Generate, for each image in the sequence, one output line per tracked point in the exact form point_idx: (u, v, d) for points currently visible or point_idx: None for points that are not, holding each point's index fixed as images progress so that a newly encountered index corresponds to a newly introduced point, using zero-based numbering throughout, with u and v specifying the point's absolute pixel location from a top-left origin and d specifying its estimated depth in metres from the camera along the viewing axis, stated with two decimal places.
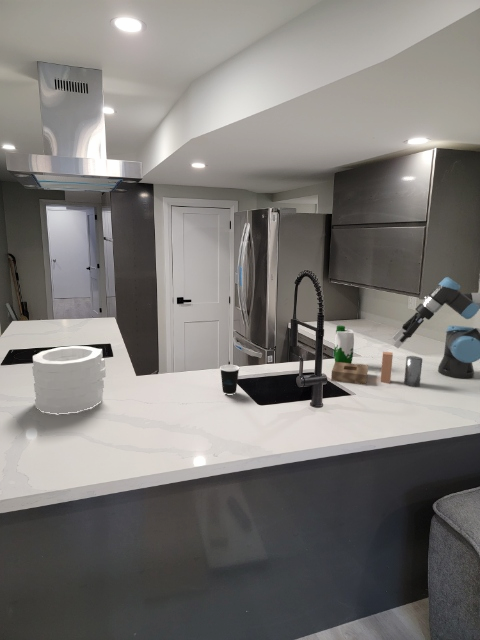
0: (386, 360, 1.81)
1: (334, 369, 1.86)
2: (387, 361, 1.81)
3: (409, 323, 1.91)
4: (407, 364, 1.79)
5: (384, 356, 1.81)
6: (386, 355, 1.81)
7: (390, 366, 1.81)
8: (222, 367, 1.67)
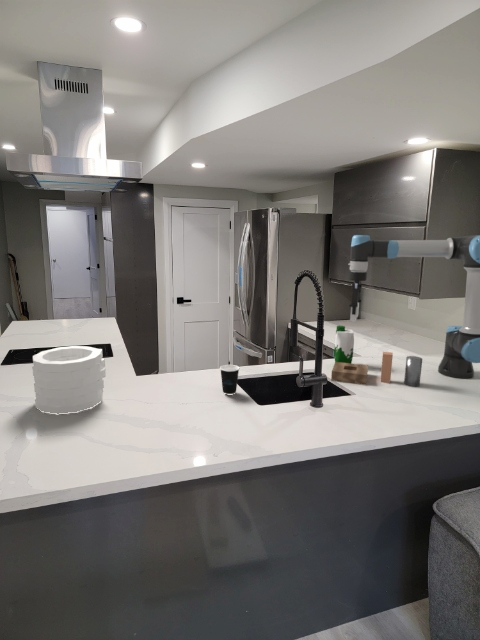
0: (386, 360, 1.81)
1: (334, 369, 1.86)
2: (387, 361, 1.81)
3: None
4: (407, 364, 1.79)
5: (384, 356, 1.81)
6: (386, 355, 1.81)
7: (390, 366, 1.81)
8: (222, 367, 1.67)
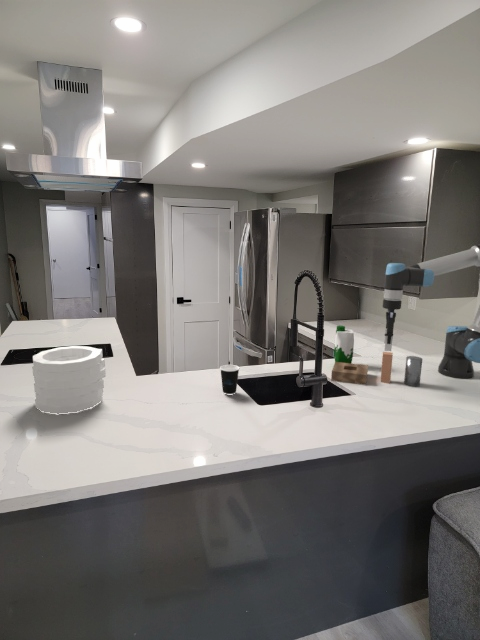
0: (386, 360, 1.81)
1: (334, 369, 1.86)
2: (387, 361, 1.81)
3: None
4: (407, 364, 1.79)
5: (384, 356, 1.81)
6: (386, 355, 1.81)
7: (390, 366, 1.81)
8: (222, 367, 1.67)
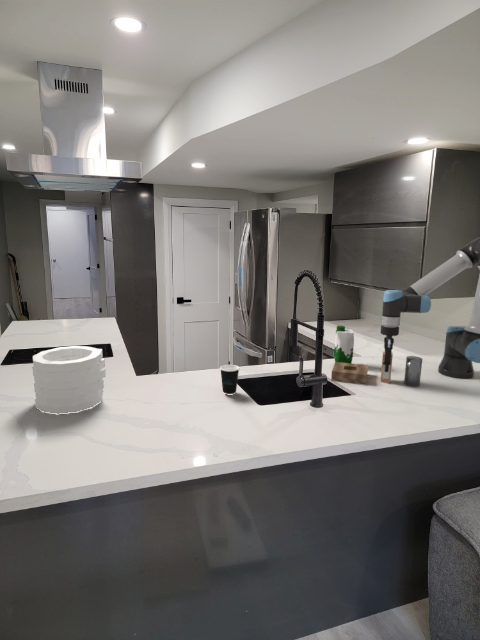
0: None
1: (334, 369, 1.86)
2: None
3: None
4: (407, 364, 1.79)
5: (384, 356, 1.81)
6: None
7: (390, 366, 1.81)
8: (222, 367, 1.67)
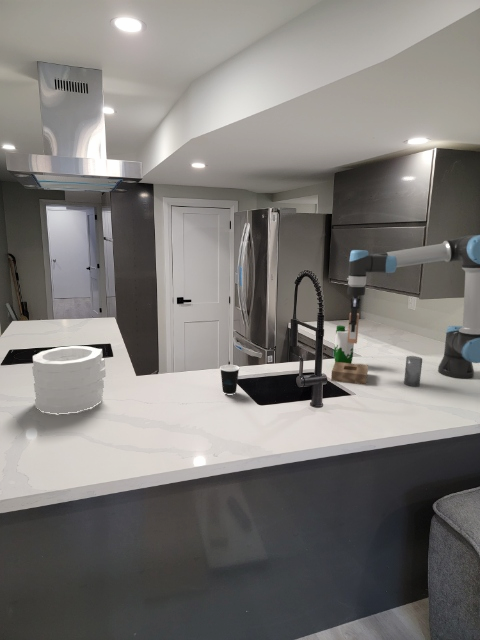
0: None
1: (334, 369, 1.86)
2: None
3: None
4: (407, 364, 1.79)
5: (350, 316, 1.82)
6: None
7: None
8: (222, 367, 1.67)
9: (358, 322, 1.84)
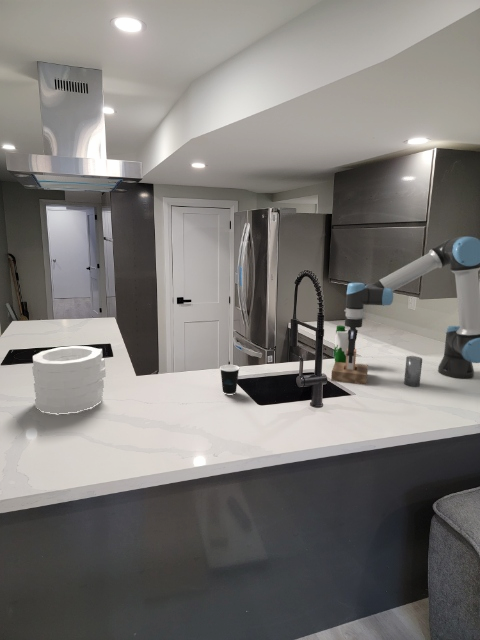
0: None
1: (334, 369, 1.86)
2: None
3: None
4: (407, 364, 1.79)
5: None
6: None
7: None
8: (222, 367, 1.67)
9: (355, 358, 1.88)
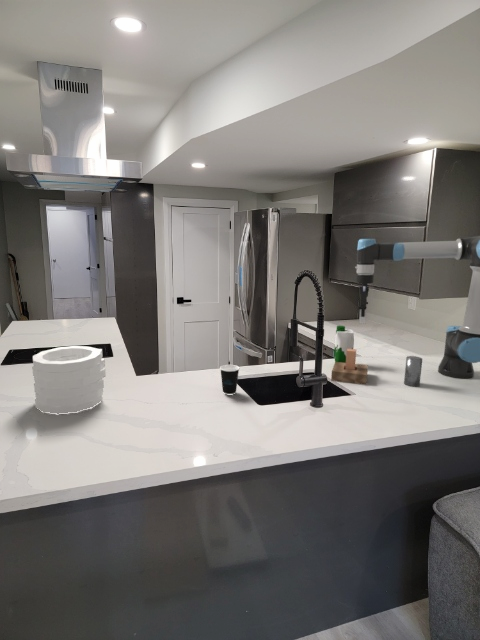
0: (349, 357, 1.85)
1: (334, 369, 1.86)
2: (350, 358, 1.85)
3: None
4: (407, 364, 1.79)
5: (348, 353, 1.85)
6: (349, 352, 1.85)
7: (353, 362, 1.85)
8: (222, 367, 1.67)
9: (355, 358, 1.88)
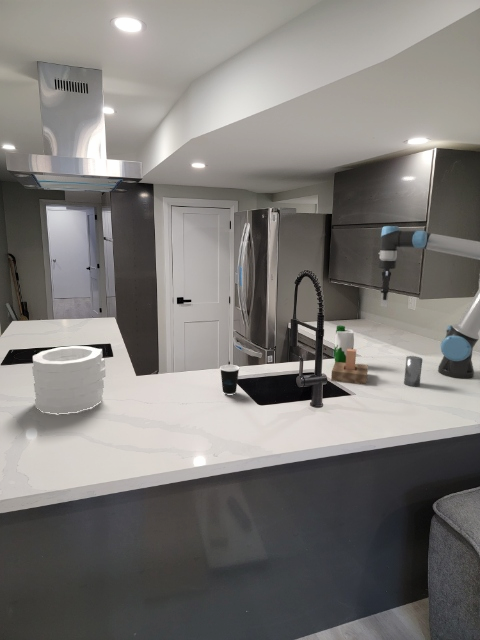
0: (349, 357, 1.85)
1: (334, 369, 1.86)
2: (350, 358, 1.85)
3: None
4: (407, 364, 1.79)
5: (348, 353, 1.85)
6: (349, 352, 1.85)
7: (353, 362, 1.85)
8: (222, 367, 1.67)
9: (355, 358, 1.88)
